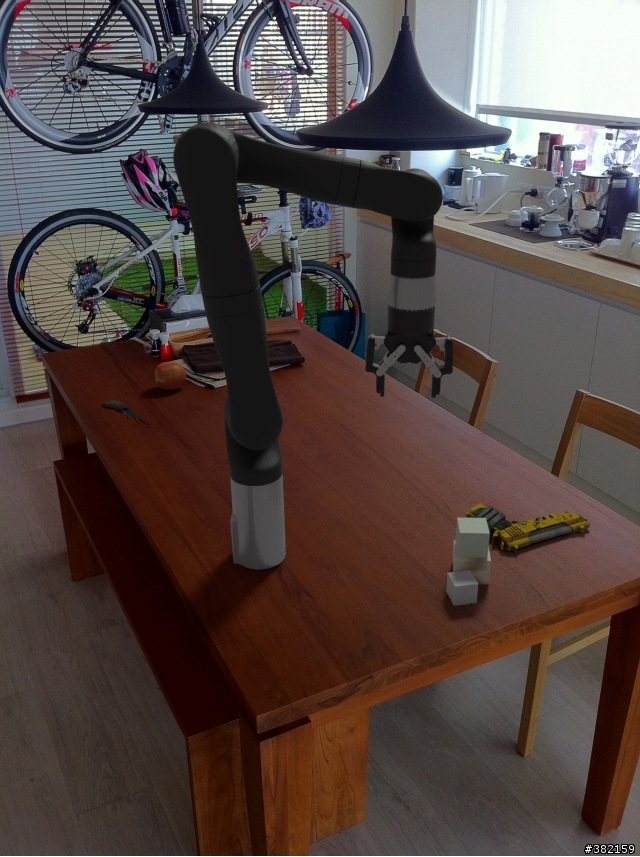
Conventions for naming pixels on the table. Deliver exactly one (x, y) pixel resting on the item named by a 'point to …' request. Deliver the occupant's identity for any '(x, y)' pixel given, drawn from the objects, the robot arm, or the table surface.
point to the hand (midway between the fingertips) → (407, 395)
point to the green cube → (472, 538)
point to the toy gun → (526, 527)
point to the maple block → (473, 566)
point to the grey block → (462, 587)
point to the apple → (170, 375)
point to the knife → (120, 407)
